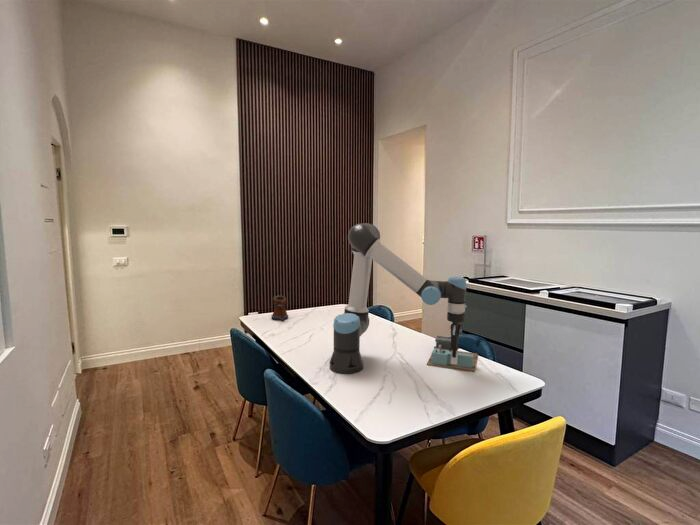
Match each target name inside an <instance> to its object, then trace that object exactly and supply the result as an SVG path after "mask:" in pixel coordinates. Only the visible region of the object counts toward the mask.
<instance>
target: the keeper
mask: <svg viewBox="0 0 700 525" xmlns="http://www.w3.org/2000/svg"><path fill="white" fill-rule="evenodd" d="M434 341H435V346H433V349H434V348H436V349H439V345H441V349H444V350H449V351H450V352H451V350H450V348H451V336H450V337H449V336H439V335H437V336H436V337H435V340H434Z"/></svg>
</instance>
